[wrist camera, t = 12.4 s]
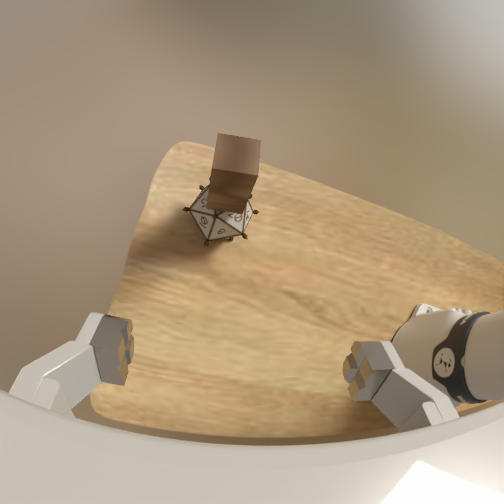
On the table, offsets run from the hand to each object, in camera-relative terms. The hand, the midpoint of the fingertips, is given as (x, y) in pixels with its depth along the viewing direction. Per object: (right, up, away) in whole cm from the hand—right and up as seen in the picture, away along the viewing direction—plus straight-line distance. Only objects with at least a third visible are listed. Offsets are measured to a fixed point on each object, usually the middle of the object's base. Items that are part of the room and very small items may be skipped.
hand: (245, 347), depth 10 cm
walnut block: (-3, +10, +23) cm, 25 cm away
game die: (-4, +7, +31) cm, 32 cm away
